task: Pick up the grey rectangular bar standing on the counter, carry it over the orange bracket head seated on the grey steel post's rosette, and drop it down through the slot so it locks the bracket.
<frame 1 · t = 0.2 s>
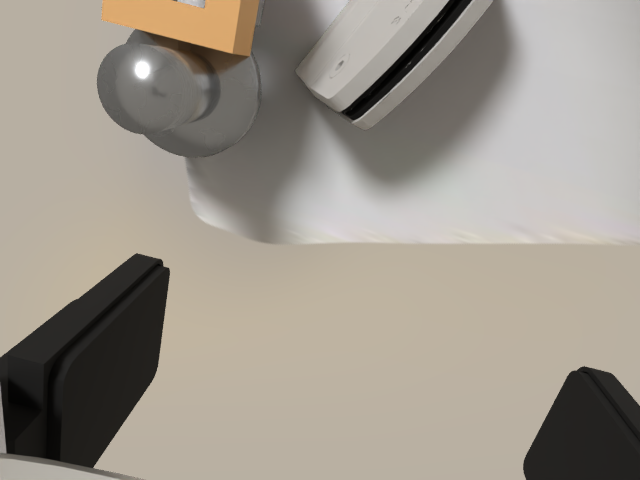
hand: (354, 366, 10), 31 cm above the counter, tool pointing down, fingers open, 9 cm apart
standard: (215, 84, 38), on the counter
white curved casing: (396, 23, 36), on the counter
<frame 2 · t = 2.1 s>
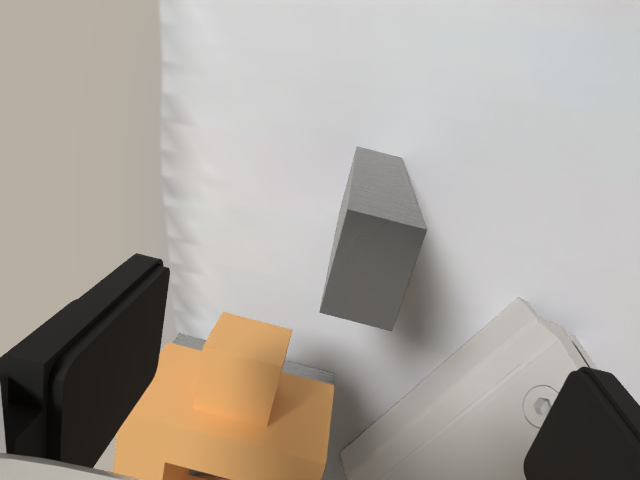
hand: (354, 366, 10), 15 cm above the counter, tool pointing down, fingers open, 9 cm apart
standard: (241, 454, 32), on the counter
white curved casing: (465, 412, 29), on the counter
bracket: (225, 456, 20), point 9 cm above the counter
grey rectangular bar: (370, 185, 24), on the counter
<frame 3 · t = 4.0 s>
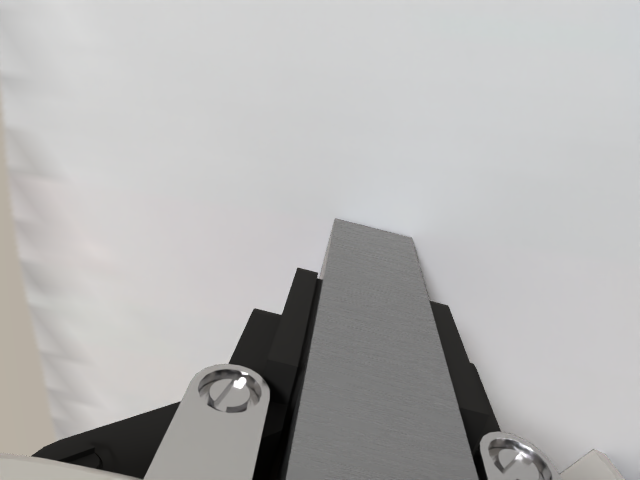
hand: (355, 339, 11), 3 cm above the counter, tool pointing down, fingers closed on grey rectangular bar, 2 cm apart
grey rectangular bar: (357, 279, 14), on the counter, touching gripper
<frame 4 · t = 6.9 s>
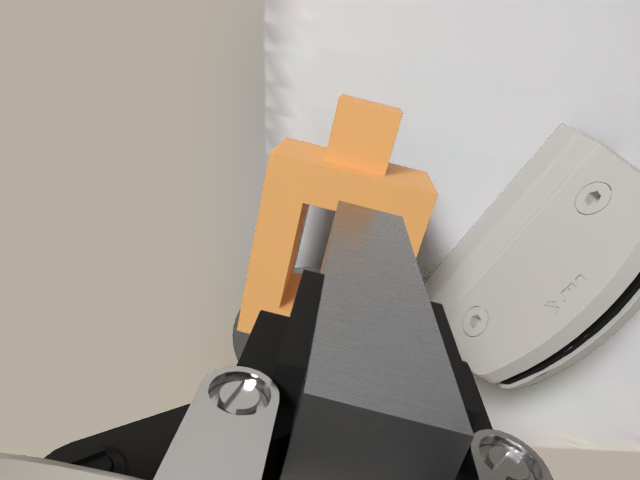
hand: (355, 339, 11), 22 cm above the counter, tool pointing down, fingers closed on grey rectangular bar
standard: (317, 298, 36), on the counter
white curved casing: (520, 245, 33), on the counter
bracket: (338, 225, 24), point 9 cm above the counter
grey rectangular bar: (357, 253, 17), point 16 cm above the counter, touching gripper
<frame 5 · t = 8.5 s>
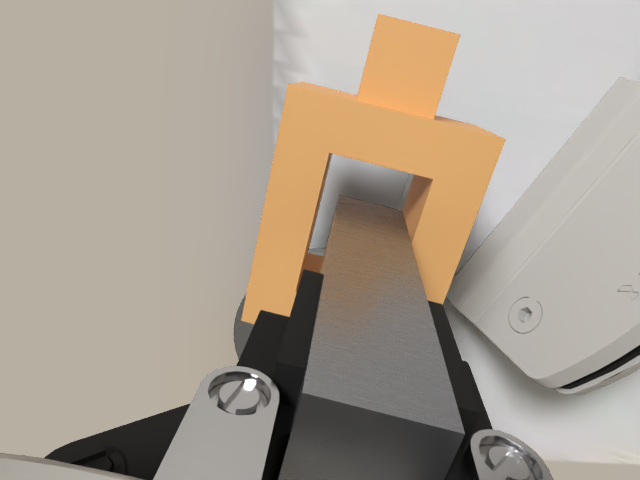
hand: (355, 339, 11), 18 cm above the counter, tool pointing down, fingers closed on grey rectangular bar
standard: (330, 289, 31), on the counter
white curved casing: (569, 225, 29), on the counter
bracket: (369, 189, 20), point 9 cm above the counter
grey rectangular bar: (358, 246, 17), point 12 cm above the counter, touching gripper
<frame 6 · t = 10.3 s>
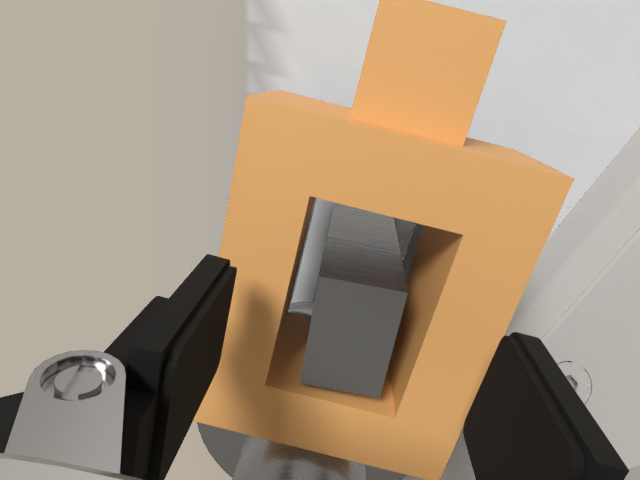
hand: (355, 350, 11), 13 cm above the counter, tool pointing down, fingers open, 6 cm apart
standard: (321, 339, 26), on the counter
white curved casing: (615, 264, 23), on the counter
bracket: (369, 239, 14), point 9 cm above the counter
grey rectangular bar: (356, 214, 23), resting in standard
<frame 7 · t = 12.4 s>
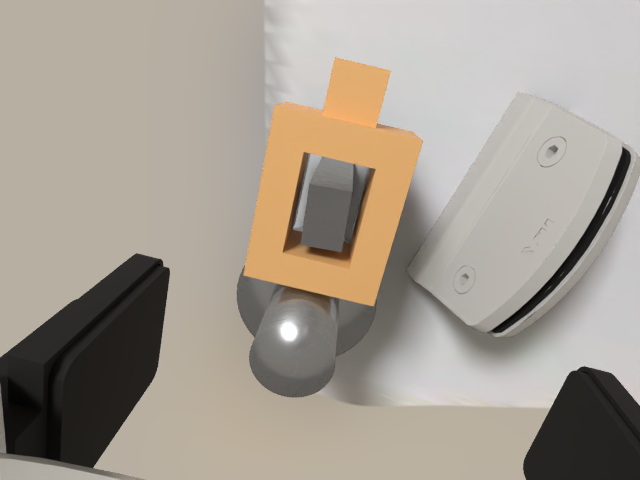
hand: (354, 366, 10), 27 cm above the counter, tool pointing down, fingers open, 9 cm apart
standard: (313, 265, 39), on the counter
white curved casing: (499, 208, 36), on the counter
bracket: (335, 178, 27), point 9 cm above the counter
grey rectangular bar: (334, 179, 36), resting in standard
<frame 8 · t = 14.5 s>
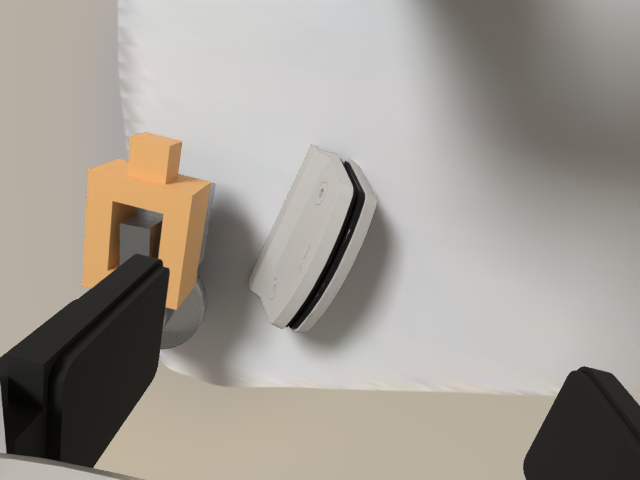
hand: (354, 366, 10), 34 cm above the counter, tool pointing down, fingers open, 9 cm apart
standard: (175, 275, 49), on the counter
white curved casing: (312, 231, 46), on the counter
bracket: (149, 217, 37), point 9 cm above the counter
grey rectangular bar: (185, 208, 46), resting in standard
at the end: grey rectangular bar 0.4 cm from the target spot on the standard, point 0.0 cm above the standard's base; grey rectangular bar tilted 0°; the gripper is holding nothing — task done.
